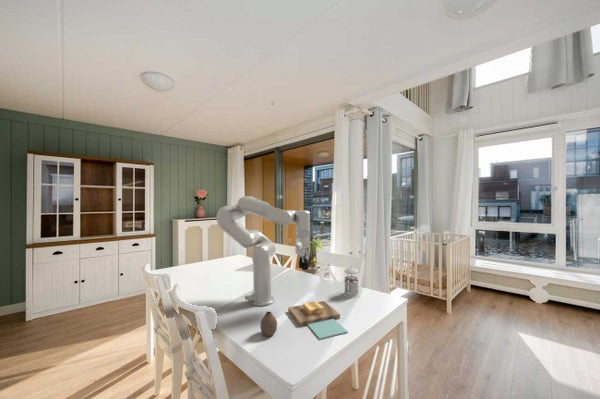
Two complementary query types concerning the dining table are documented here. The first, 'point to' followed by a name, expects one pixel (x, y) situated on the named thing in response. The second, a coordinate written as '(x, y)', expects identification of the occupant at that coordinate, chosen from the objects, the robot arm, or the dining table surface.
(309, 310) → the yellow flat block
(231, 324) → the dining table surface
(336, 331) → the mat
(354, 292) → the french press
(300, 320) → the wooden board
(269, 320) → the vase
